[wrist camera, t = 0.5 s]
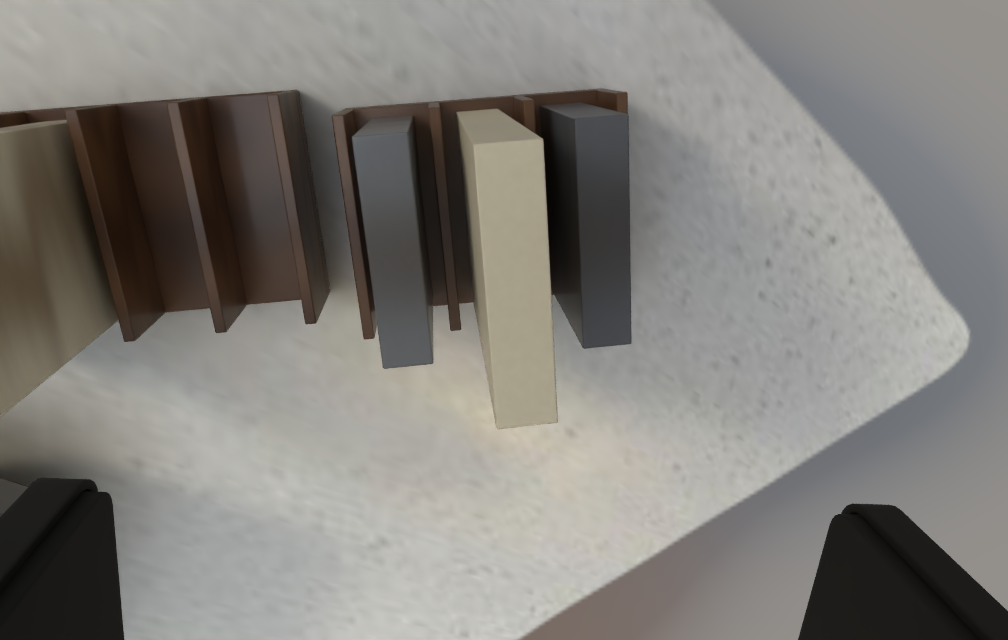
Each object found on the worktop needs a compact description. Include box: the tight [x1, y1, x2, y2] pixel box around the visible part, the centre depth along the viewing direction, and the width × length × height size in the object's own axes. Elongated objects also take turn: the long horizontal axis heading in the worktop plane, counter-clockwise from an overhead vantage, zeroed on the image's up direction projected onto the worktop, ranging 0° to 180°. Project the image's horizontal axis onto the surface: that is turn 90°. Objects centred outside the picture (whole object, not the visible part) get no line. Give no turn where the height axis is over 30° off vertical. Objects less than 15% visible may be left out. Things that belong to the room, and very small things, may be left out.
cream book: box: [456, 109, 558, 429], centre depth 29 cm, size 9×2×15 cm, turn 4°
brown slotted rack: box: [332, 89, 631, 369], centre depth 33 cm, size 10×12×10 cm
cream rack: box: [0, 90, 330, 417], centre depth 28 cm, size 10×16×16 cm, turn 94°
